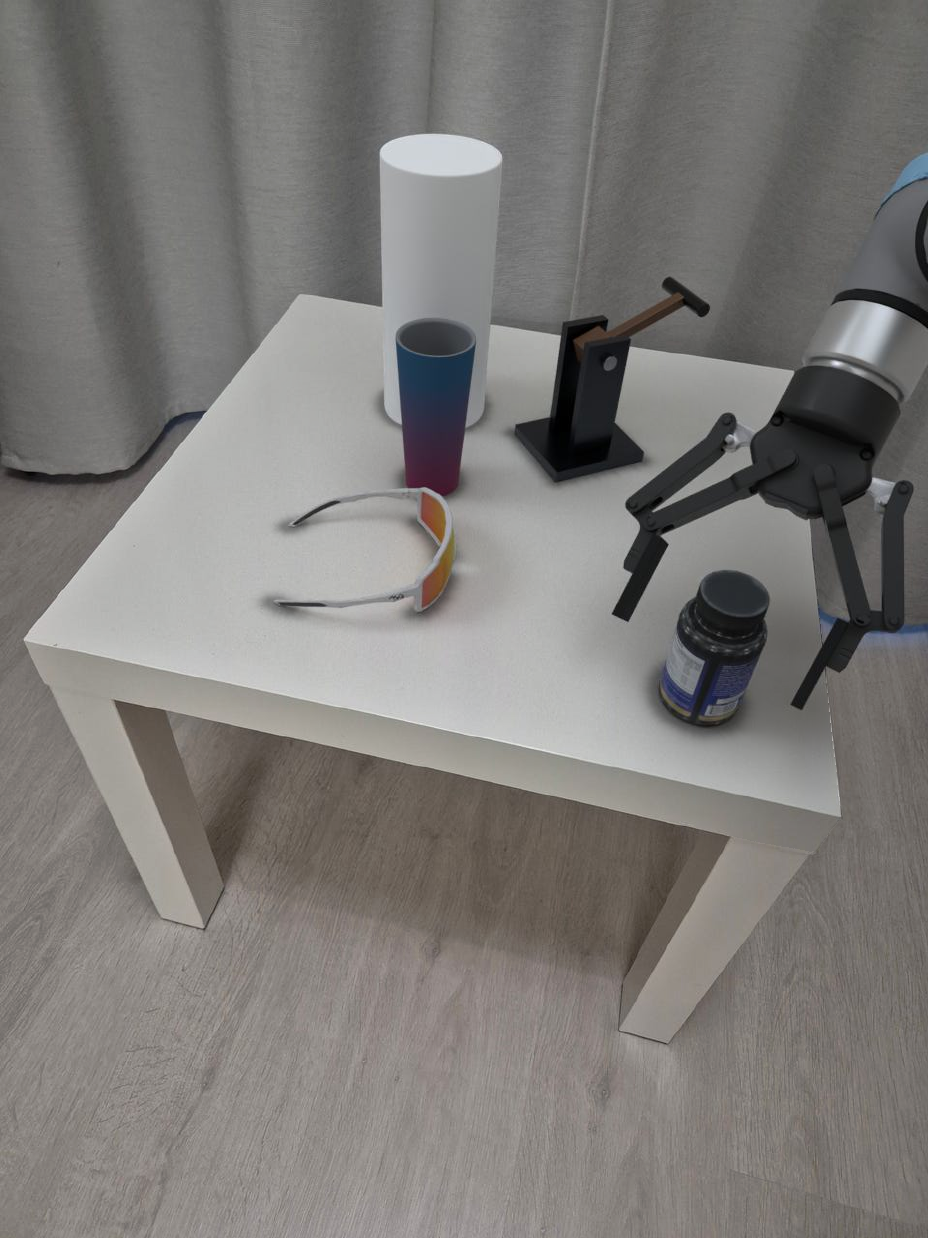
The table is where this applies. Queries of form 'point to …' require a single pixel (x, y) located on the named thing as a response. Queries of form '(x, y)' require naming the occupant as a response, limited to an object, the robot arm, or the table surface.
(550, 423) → the bracket
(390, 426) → the table surface
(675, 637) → the pill bottle
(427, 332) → the cup
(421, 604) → the sunglasses
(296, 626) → the table surface
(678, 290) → the lever
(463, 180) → the tall pillar cylinder
